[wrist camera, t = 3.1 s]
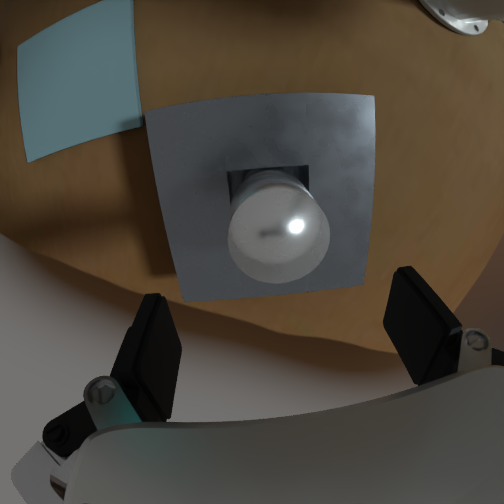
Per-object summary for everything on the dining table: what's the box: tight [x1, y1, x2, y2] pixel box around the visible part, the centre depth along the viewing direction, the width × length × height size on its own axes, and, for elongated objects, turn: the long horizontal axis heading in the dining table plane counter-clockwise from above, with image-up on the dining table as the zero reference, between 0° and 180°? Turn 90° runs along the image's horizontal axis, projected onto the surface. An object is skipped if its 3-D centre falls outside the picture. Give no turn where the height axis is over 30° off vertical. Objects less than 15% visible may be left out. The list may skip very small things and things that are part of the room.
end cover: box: [228, 167, 330, 284], centre depth 19 cm, size 6×6×10 cm
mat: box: [17, 0, 143, 163], centre depth 18 cm, size 14×14×1 cm
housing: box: [144, 93, 375, 302], centre depth 22 cm, size 16×16×5 cm
